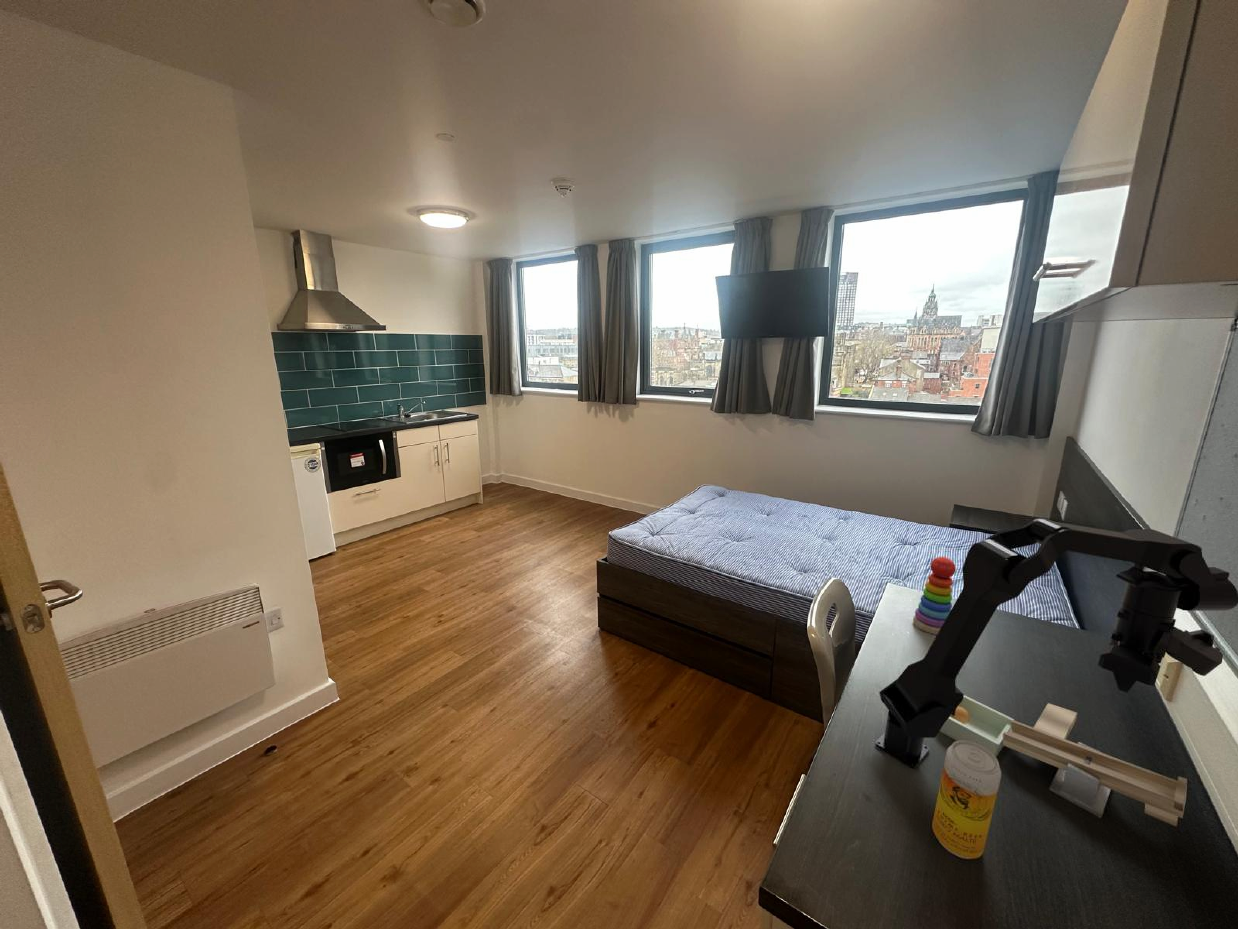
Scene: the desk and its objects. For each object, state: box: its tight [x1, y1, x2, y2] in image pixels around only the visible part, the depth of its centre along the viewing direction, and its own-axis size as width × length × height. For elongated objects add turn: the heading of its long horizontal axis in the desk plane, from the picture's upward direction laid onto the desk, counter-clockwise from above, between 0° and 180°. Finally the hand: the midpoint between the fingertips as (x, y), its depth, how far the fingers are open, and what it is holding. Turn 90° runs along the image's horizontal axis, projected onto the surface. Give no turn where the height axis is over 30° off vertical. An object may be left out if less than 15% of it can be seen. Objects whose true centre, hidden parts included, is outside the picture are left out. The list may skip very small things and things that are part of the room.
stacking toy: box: [912, 556, 957, 635], centre depth 118 cm, size 8×8×19 cm
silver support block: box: [1049, 741, 1112, 819], centre depth 76 cm, size 8×6×6 cm
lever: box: [1003, 702, 1188, 827], centre depth 79 cm, size 17×20×5 cm
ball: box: [950, 706, 969, 724], centre depth 89 cm, size 3×3×3 cm
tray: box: [939, 695, 1015, 758], centre depth 88 cm, size 9×9×4 cm
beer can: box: [931, 740, 1002, 860], centre depth 67 cm, size 6×6×15 cm
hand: (1123, 690), depth 81 cm, fingers closed
